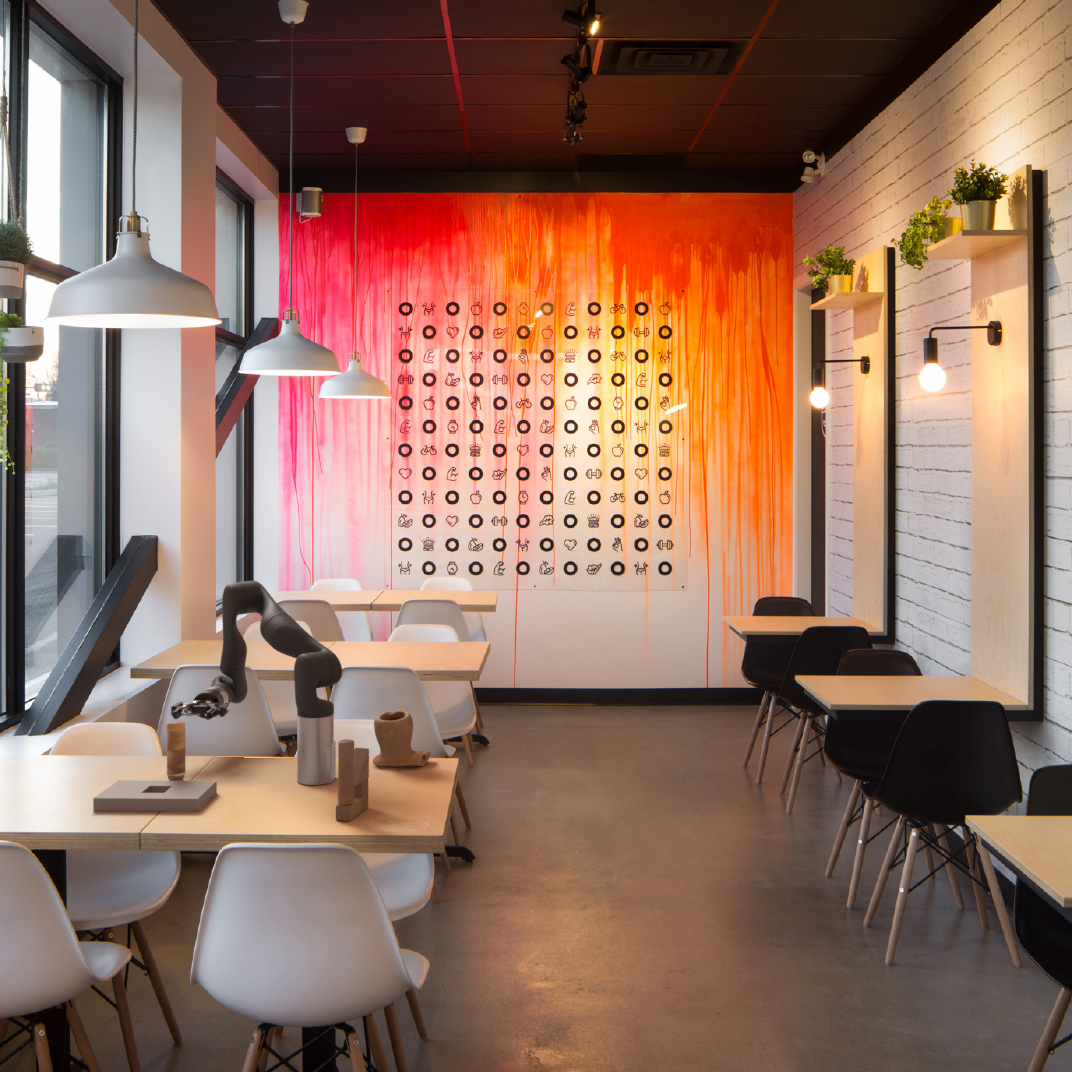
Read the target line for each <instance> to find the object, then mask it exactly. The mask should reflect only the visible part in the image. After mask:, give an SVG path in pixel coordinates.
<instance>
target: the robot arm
mask: <svg viewBox="0 0 1072 1072" xmlns="http://www.w3.org/2000/svg"><path fill="white" fill-rule="evenodd" d="M221 601H222V604H221V605H222V607H221V608H222V611H221V613H222V614H221V616H222V651H221V657H220V663H219V669H220V672H221V674H222V675H217V676H215V678H213V679H212V682H211V685H210V687H207V688H206V689H203V691H201V692H200V693H198V694H197V695H196V696H195V697H194V698H193V700H192V701H191V702H187V703H184V702H183V701H178V702H176V703H175V704H173V705H171V706H170V715H171V717H172V718H173V720H178V719H180V718H181V717H192V716H196V717H199V718H201V719H205V720H207V721H210V720H211V719H213V718H217V717H218V716H219V717H221V718H222V717H225V716H226V715H227V714H228V713H229V710H230V706H229V704H232V703H233V704H241V703H242V702H243V701H244V700H245V699H246V698H247V695H248V682H247V675H246V661H247V653H248V646H247V643H246V641H245V638H244V636H243V635H242V634H241V632H240V630H239V628H238V626H237V620H238V619H237V618H238V616H240V615H247V614H252V613H256V614H258V615H260V616H261V620H260V623H259V630H260V634H261V637H262V638H263V639H264V641H265V642H266V643H268V645H269V646H270V647H272V649H273V650H275V651H276V652H279V653H280V654H282V655H285V656H288V657H290V658H294V659H295V661H294V665H293V678H294V697H295V698H294V700H295V704H296V712H297V720H296V723H297V727H296V728H297V729H296V730H297V732H296V733H297V735H296V736H297V740H296V741H297V745H296V747H297V748H296V750H297V751H296V754H297V756H296V757H297V758H296V759H297V760H296V763H297V765H296V766H297V768H296V769H297V771H296V774H297V779H296V780H297V783H298V784H301V785H306V786H317V785H318V786H319V785H325V783H326V784H332V783H333V782H334V779H335V778H336V777H335V776H337V775H336V772H337V771H336V769H337V767H336V765H337V763H336V761H337V760H336V753H337V750H336V748H337V746H336V745H337V744H336V743H337V742H336V740H335V730H334V729H335V704H334V703H333V702H332V701H331V700H327V699H325V698H324V699H323V698H320V697H319V696H318V693H317V689H321V688H327V687H331V686H334V685H336V684H338V683H339V682H340V681H341V679H342V676H343V667H342V663H341V661H340V659H339V658H338V656H337V655H336V653H334V651H332V650H331V649H330V648H328V647H327V646H325V645H324V644H323V643H320V641H318V640H317V639H315V638H314V637H313V636H312V635H311V634H309V632H307V631H306V630H305V629H304V628H303V627H302V626H301V625H300V624H299V623H298V622H297V621H296V620H295V619H294V618H293V617H292V616H291V615H289V614H288V613H287V612H286V611H285V610H284V609H283V608H282V607H281V606H280V605H279V604H278V603H277V601H276V600H275V599H274V598H273V597H272V596H271V594H270V593H269V591H268V590H267V588H265V586H263V584H262V583H261V582H259V581H257V580H246V581H238V582H231V583H228V584H227V585H226V586H224V589H223V591H222V600H221Z"/></svg>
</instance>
